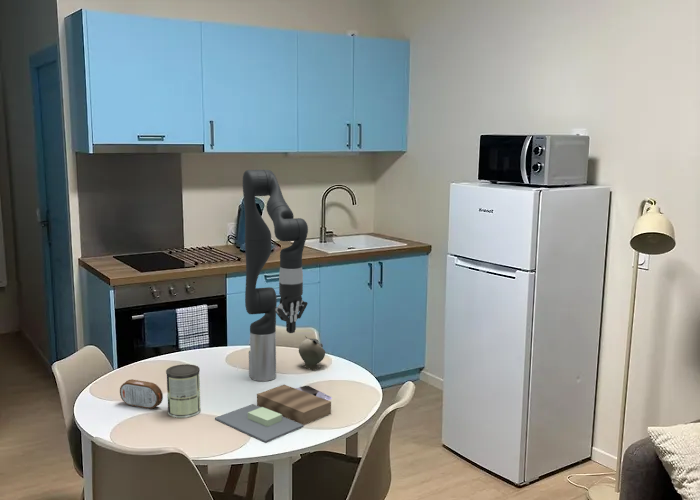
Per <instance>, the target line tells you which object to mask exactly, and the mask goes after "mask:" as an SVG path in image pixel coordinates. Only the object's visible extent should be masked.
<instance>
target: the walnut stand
mask: <svg viewBox="0 0 700 500" xmlns="http://www.w3.org/2000/svg"><path fill="white" fill-rule="evenodd" d="M295 388H296V387H292V386H290V385H286V384H282V385H279V386H277V387H273V388H271V389H267V390H265V391H262V392H258V393H256V406H258V407H264V408H267V409H269V410H272V411H274V412H277V413H280V414H282V416H283V417H285V418H288V419H290V420H292V421H295V422H297V423H300V424H302V425H305V426H306V425H307V424H309V423H312V422H315V421H317V420H319V419H322V418H324V417H327V416H328V415H331V414H332V401H331V400H325V399H322V398H320V397H317V396H314V395H311V394H309V393H306V392H303V391H301V390H298V389H295Z"/></svg>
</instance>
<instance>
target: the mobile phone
mask: <svg viewBox="0 0 700 500" xmlns="http://www.w3.org/2000/svg"><path fill="white" fill-rule="evenodd" d="M294 388H295V389H298V390H301V391H303V392H306V393H309V394H311V395H314V396H317V397H320V398H322V399H325V400H328V401H331V400H332V399H333V397H332V396H330V395H328V394H326V393H324V392H322V391H320V390H318V389H316V388H314V387H312V386H310V385H303V386H299V387H294Z"/></svg>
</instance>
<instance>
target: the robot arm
mask: <svg viewBox="0 0 700 500" xmlns="http://www.w3.org/2000/svg"><path fill="white" fill-rule="evenodd" d="M242 194H243V196H242V197H243V204H244V205H243V207H244V218H245V219H244V224H245V225H244V248H245V250H244V251H245V252H244V254H245V272H246V273H245V290H244V291H245V292H244V293H245V295H244V296H245V297H244V301H245V304H244V305H245V310H246V312H247V314H248V315H261V314H263V315H262V317H261V318H259V319H258V320H255V321H253V322H252V323H251V324H250V325H249V346H250V350H249V351H248V376H249V377H250V378H251V380H254V381H257V382H269V381H272V380H274V379H276V378H277V339H276V337H277V334H276V333H277V331H276V330H277V329H276V328H277V316H278V318H279V319H280V320H281V321H284V322H286V324H285V325H286V332H287V333H289V334H293V333H294V334H295V332H296V329H297V323H296V322H297V320H298V319H301V318H302V315H304V314H303V313H304V312H305V310H306V308H307V306H308V304H309V303H308V302H307V301H304V300H303V297H302V295H303V293H304V292H303V291H304V288H303V287H304V285H303V283H304V278H303V277H304V274H303V251H304V248H305V243H306V240H307V237H308V234H309V233H308V232H309V227H308V226H309V225H308V223H307V221H306V220H305V219H303V218H301V217H300V218H299V217H298V218H297V217H295V216H294V212H293V211H292V209H291V208H290V206H289V205H288V203H287V202H286V200H285V198H284V196H283V193H282V190H281V187H280V185H279V182H278V179H277V177H276V175H275V173H274V172H273V171H272V170H269V169H247V170H245V171H244V173H243V175H242ZM267 196H269V198H268V200H267V202H266V212H267V214H268V216H269V218H270V219H271V221H272V223H273V228H274V235H275V236H274V237H275V238H276V240H278V241H280V242H292V244H291V245H289V246H287V247H284V248H282V249H281V250H280V252H279V273H278V274H279V275H278V277H279V278H278V279H279V280H278V286H279V287H278V290H279V292H278V294H279V295H280V296H279V297H280V300H279V305H278V306H277V301H278V299H277V292H276V291H275V288H274V287H270V286H269V287H257V282H258V278H259V276H260V273H261V272H262V269H263V268H264V266H265V265H266V264H267V262H268V260H269V258H270V256H271V253H272V233H271V230H270V228H269V225H267V223H266V222H265V220H264V219H263V218H262V215H261V214H260V212H259V210H258V208H257V203H256V197H267ZM294 217H295V218H294Z"/></svg>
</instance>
